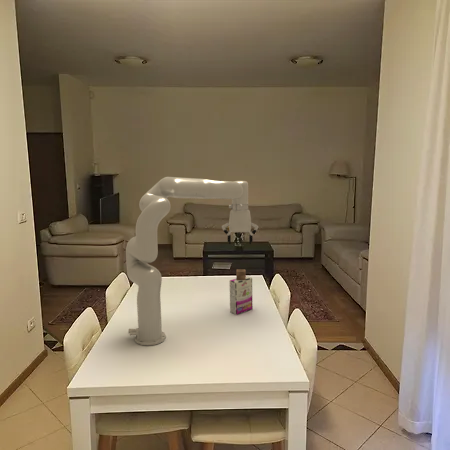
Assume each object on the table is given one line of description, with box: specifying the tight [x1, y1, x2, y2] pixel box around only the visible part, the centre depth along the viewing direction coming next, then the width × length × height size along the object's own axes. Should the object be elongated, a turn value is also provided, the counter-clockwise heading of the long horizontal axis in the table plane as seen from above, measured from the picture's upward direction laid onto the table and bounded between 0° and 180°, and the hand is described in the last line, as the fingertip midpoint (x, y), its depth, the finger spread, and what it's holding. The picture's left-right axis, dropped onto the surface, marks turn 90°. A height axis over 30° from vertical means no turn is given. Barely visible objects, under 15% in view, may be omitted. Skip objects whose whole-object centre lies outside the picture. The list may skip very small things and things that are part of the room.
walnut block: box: [235, 268, 247, 280], centre depth 194 cm, size 4×4×4 cm
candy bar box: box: [229, 275, 253, 316], centre depth 196 cm, size 11×5×16 cm, turn 131°
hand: (240, 243), depth 190 cm, fingers open, 9 cm apart
